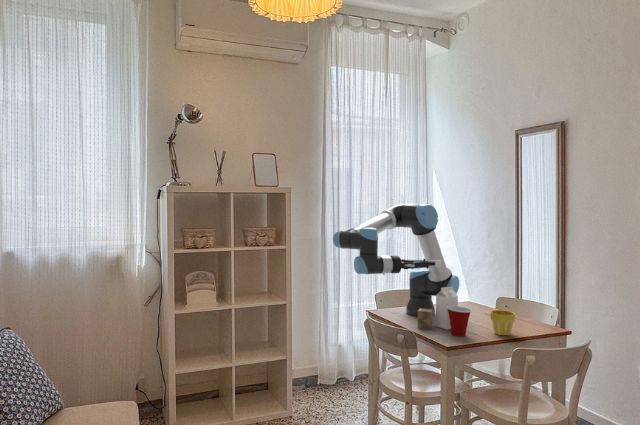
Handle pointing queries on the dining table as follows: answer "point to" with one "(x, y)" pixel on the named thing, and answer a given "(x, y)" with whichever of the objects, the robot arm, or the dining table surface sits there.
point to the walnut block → (425, 318)
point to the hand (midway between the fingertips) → (440, 263)
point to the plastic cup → (458, 319)
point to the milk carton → (445, 306)
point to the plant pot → (502, 321)
